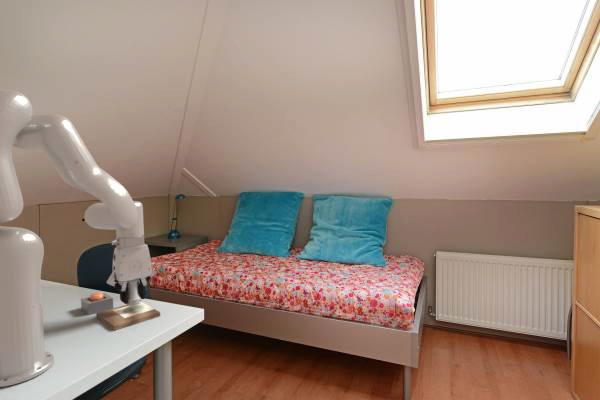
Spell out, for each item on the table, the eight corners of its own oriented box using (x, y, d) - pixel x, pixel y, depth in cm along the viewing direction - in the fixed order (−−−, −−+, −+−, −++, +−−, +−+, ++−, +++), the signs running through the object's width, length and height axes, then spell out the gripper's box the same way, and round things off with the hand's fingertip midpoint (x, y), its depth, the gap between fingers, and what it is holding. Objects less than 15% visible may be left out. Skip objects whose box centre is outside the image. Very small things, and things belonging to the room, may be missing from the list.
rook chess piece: (135, 306, 103) (133, 280, 102) (122, 305, 104) (120, 279, 103) (144, 301, 107) (143, 276, 107) (132, 300, 108) (131, 275, 108)
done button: (92, 303, 107) (92, 297, 107) (88, 300, 110) (88, 294, 109) (105, 300, 110) (104, 294, 110) (101, 297, 112) (100, 292, 112)
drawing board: (114, 330, 94) (114, 325, 94) (96, 316, 103) (96, 312, 103) (160, 315, 104) (160, 311, 104) (140, 304, 113) (139, 300, 113)
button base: (88, 314, 105) (88, 304, 105) (81, 309, 110) (80, 298, 109) (113, 308, 110) (112, 297, 110) (105, 302, 115) (104, 293, 115)
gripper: (105, 248, 95) (108, 311, 97) (163, 239, 108) (165, 295, 109) (95, 244, 100) (98, 305, 102) (152, 236, 113) (154, 290, 114)
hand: (133, 299), depth 106 cm, fingers closed on rook chess piece, 4 cm apart
